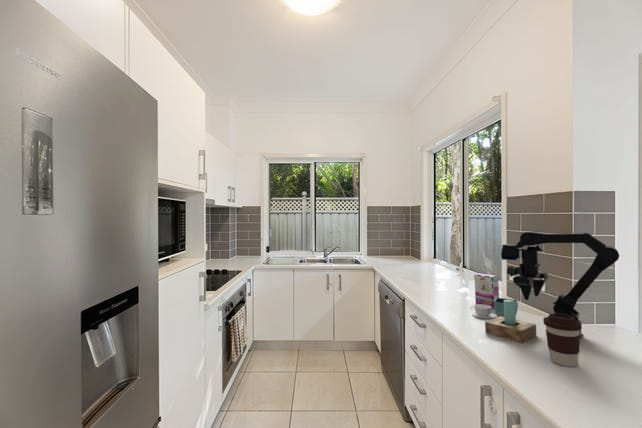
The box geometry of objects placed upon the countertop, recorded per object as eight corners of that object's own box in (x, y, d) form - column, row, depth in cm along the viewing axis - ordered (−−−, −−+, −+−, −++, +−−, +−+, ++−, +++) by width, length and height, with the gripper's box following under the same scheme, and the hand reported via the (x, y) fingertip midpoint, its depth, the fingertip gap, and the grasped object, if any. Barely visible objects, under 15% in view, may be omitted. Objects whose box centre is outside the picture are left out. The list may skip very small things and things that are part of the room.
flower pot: (517, 324, 138) (516, 304, 138) (494, 321, 143) (493, 301, 143) (519, 319, 145) (518, 299, 145) (497, 316, 150) (496, 297, 150)
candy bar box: (500, 307, 164) (498, 275, 164) (493, 308, 162) (492, 276, 162) (481, 302, 174) (480, 272, 174) (475, 303, 172) (473, 273, 172)
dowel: (518, 333, 127) (516, 301, 127) (513, 335, 125) (512, 303, 125) (507, 330, 130) (506, 299, 130) (503, 332, 128) (501, 301, 128)
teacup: (495, 320, 145) (495, 310, 145) (472, 318, 149) (471, 308, 149) (493, 313, 154) (493, 304, 154) (471, 312, 158) (471, 302, 158)
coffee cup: (546, 353, 109) (544, 310, 110) (583, 360, 103) (581, 314, 103) (544, 363, 102) (541, 317, 102) (583, 372, 95) (581, 323, 96)
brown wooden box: (536, 335, 125) (535, 324, 125) (522, 343, 118) (521, 331, 118) (500, 326, 136) (499, 316, 137) (485, 332, 130) (485, 321, 130)
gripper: (519, 257, 144) (521, 291, 144) (499, 261, 134) (500, 298, 134) (547, 259, 135) (549, 295, 135) (527, 264, 125) (529, 303, 124)
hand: (531, 298), depth 132 cm, fingers open, 9 cm apart
